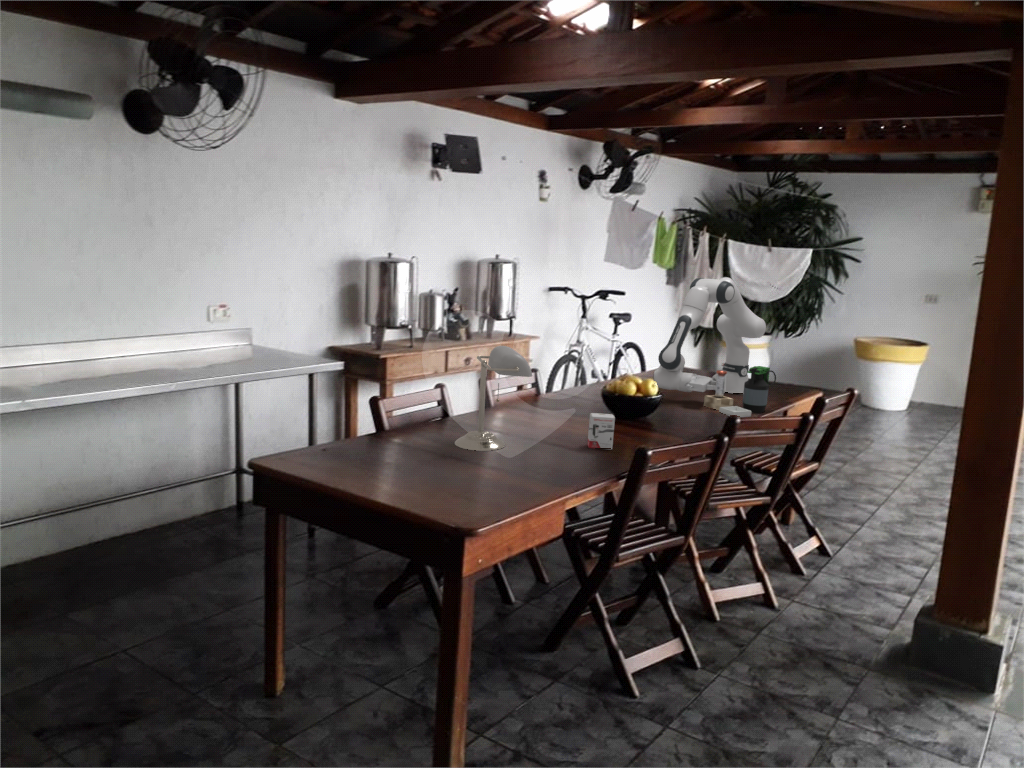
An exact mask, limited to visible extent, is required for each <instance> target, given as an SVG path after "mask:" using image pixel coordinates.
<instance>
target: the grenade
mask: <svg viewBox="0 0 1024 768" xmlns="http://www.w3.org/2000/svg"><path fill="white" fill-rule="evenodd" d="M770 373H773V376H774V381H773V382H772V383H770V382H769V379H770ZM747 374H750V378H748V381H746V382H745V383H744V392H743V394H742V400H741V401H742V402H741V403H742V408H744V409H747V410H750V411H751V414H752V413H753V414H754V413H755V414H762V412H763V413H764V412H765V409H766V407H767V403H768V396H769V388H770V387H769V386H773V385H775V383H776V381H777V375H776V372H774V370H771V367H769V366H762V365H757V366H756V365H755V366H751V367H749V370H748V373H747Z"/></svg>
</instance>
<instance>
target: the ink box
mask: <svg viewBox="0 0 1024 768" xmlns="http://www.w3.org/2000/svg"><path fill="white" fill-rule="evenodd" d="M588 422H589V423H588V433H587V447H588V448H589V449H595V448H611V449H610V450H613V445H614V433H615V422H616V417H615V415H614V414H612V413H610V414H609V413H597V412H591V413H589V421H588Z"/></svg>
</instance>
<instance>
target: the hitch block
mask: <svg viewBox="0 0 1024 768" xmlns="http://www.w3.org/2000/svg"><path fill="white" fill-rule="evenodd" d="M704 406H706V407H705V408H707V407H710V408H713V409H716V410H719V408H720V407H731V406H734V398H733V397H732V398H731V397H728V396H725V395H723V398H715V394H710V395H709V394H707V395H704V400H703V407H704ZM710 408H709V409H710ZM713 409H712V410H713ZM716 410H715V411H716Z"/></svg>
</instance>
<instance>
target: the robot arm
mask: <svg viewBox="0 0 1024 768" xmlns="http://www.w3.org/2000/svg"><path fill="white" fill-rule="evenodd" d="M708 303H714V304H718V305H719V307H720V309H721V312H722V314H720V315H719V317H718V318H717V321H716V329H717V331H718V332H719V333H720V334H721V335H722V337H723V339H724V342H725V347H726V352H725V362H724V363H722V364H721V366H722V367H721V368H722V369H721V370H723V371H727V374H726V376H725V385H724V393H725V392H728V393H727V394H733V393H743V392H744V383H745V382H746V381H748V380H749V375H748V374H749V373H748V371H749V369H750V365H749V360H750V353H751V352H750V348H749V347H748V346H747V345H746V343H744V341H743V338H744V339H745V338H747V339H760V338H762V337H763V335H765V333H766V330H767V323H766V321H765V320H764V319H763V318H762V317H759V316H758V315H756V314H755V313H754V312H753V311H752V310H751V309H750V308H749V307H748V306H747V304H746V302H745V300H744V299H743V296H742V294H741V291H740V289H739V287H738V286H737V285H736V283H735V281H734V280H733V279H732V278H730V277H727V276H723V277H720V278H718V279H716V278H704V277H697V278H695V279H694V280H693V281H691V283H690V286H689V291H688V292H687V293H686V296H685V298H684V300H683V302H682V305H681V308H680V311H679V313H678V317H677V320H676V323H675V326H674V328H673V331H672V332H671V335H670V337H669V340H668V342H667V344H666V345H665V346H664V347H663V348H662V350H661V351H660V352H659V354H658V363H659V364H660V365H659V366H658V367H657V368H656V369H655V370H654V371H653V376H652V378H653V382H654V381H656V382H657V385H658V387H657V388H660V389H663V390H669V391H674V390H675V391H679V392H685V393H692V392H699V393H704V392H706V391H710V390H711V391H712V390H713V391H716V390H717V386H716V382H717V373H715V374H714V375H713V376H712V377H711V376H710V377H709V376H705V375H699V374H697V373H694V372H683V371H684V369H685V366H686V359H685V357H684V356H683V354H682V353H681V352H682V347H683V345H684V342H685V340H686V338H687V335H688V333H690V331H692V329H695V328H697V327H700V325H701V322H702V321H703V319H704V317H705V314H706V311H707V309H708Z"/></svg>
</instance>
